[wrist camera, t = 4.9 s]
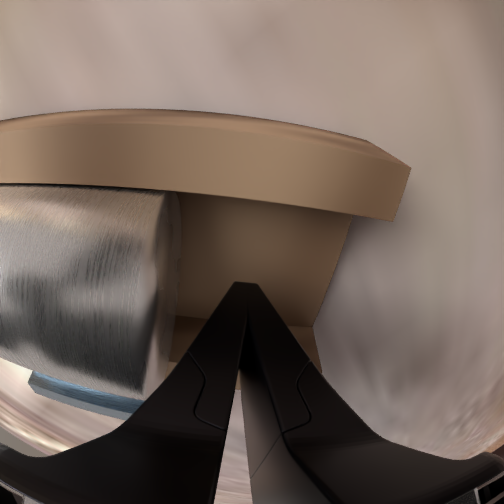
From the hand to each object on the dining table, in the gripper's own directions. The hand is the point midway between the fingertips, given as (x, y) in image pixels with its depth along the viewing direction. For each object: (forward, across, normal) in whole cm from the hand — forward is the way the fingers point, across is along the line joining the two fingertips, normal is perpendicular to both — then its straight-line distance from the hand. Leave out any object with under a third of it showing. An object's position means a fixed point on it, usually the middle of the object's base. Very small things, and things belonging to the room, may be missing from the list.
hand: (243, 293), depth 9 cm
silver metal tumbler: (+2, +9, 0) cm, 9 cm away
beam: (+2, +8, 0) cm, 8 cm away
